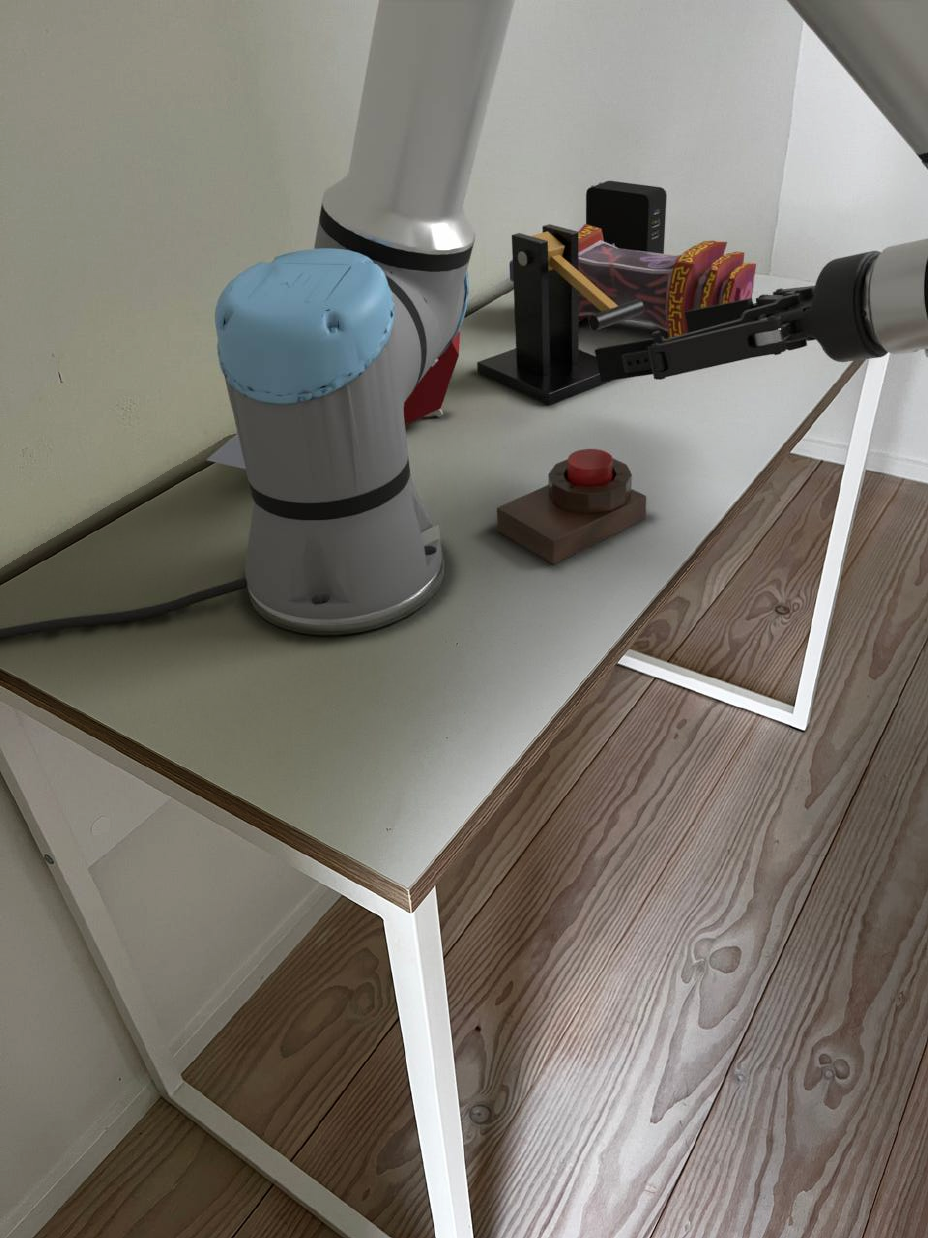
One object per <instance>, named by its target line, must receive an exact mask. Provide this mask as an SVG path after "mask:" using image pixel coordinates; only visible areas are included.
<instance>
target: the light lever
mask: <svg viewBox="0 0 928 1238" xmlns="http://www.w3.org/2000/svg"><path fill="white" fill-rule="evenodd" d="M531 236H532V237H536V238H539V239H543V240H546V241H548V271H549V270H552V269H554V270H555V271H556V272H558V273H559V274H560V275H561V276H562V277H563V278H564V279H565V280H566V281H568V282H569V283H570V284H571V285H572V286H573V287H574V288H575V289H577V290H578V291H579V292H580V293H581V294H582V295H583V296H584V297H586V298H587V299H588V300H589V301H590V302H591V303H592V304H593V305H595V306H596V307H597V308H598V309H599V310H600V311H601V312H600V313H597V314H594V315H589V316H588V317H589V318H588V326H589V328H590V329H591V330H592V331H594V332H595V331H598V330H602V329H603V328H604V329H605V328H606V327H609V326H612V325H615V324H618V323H621V322H623V321H627V320H626V319H629V318H632V317H635V316H637V315H640V314H642V313H643V311H644V305H643V303H642V301H641V300H638V299H637V300H634V301H631V302H628V303H625V304H622V305H620V306H618V305H616V304H615V303H614V302H613V301H612V300H611V299H610V298H609V297H607V296H606V295H605V294H604V293H603V292H602V291H601V290H599V289H598V288H597V287H596V286H595V285H594V284H593V283H591V282H590V281H589V280H588V279H587V278H586V277H585V276H583V275H582V274H581V273H580V272H579V271H578V270H577V269H576V268H574V267H573V266H572V265H571V264H570V263H569V262H568V261H566V260H565V259H564V258H563V257H562V256H563V252H564V248H565V246H564V245H563V244H562V243H560V242H559V241H558V240H557V239H556V238H555V237H554V236H552V235H551V234H550V233H549V232H548V231H547V232H544V233H543V232H541V233H538V234H534V235H531Z"/></svg>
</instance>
